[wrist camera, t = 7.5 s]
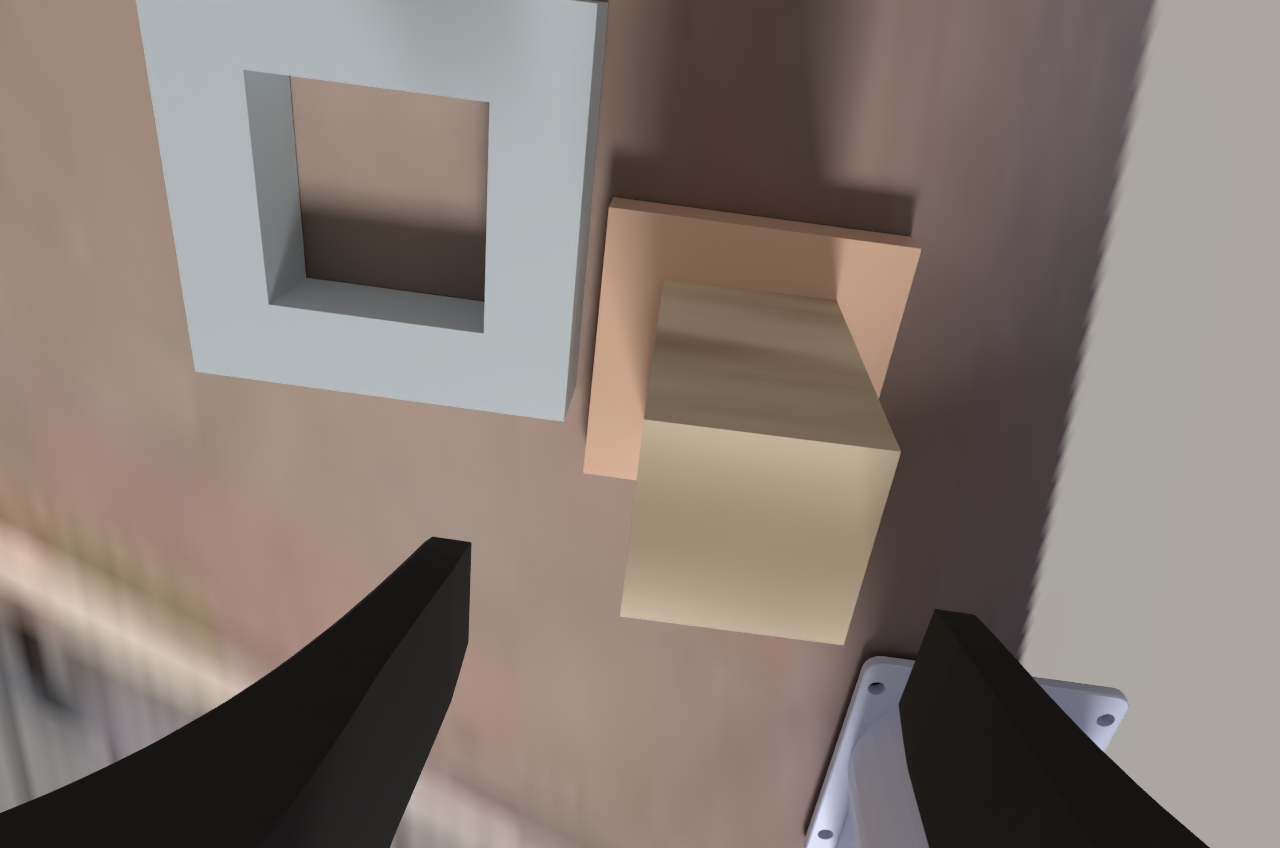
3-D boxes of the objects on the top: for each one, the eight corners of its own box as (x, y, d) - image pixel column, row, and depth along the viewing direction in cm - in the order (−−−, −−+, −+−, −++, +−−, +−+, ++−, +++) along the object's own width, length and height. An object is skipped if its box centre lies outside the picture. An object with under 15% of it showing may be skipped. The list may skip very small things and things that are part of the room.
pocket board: (575, 386, 21) (563, 421, 20) (237, 340, 21) (195, 371, 20) (608, 2, 17) (597, 3, 15) (186, -54, 17) (126, -58, 15)
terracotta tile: (841, 488, 22) (847, 508, 21) (588, 453, 22) (583, 473, 21) (911, 236, 19) (922, 248, 18) (613, 197, 19) (608, 207, 18)
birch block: (802, 450, 21) (843, 645, 14) (645, 429, 21) (619, 616, 14) (836, 300, 19) (901, 451, 13) (664, 279, 19) (643, 418, 13)
